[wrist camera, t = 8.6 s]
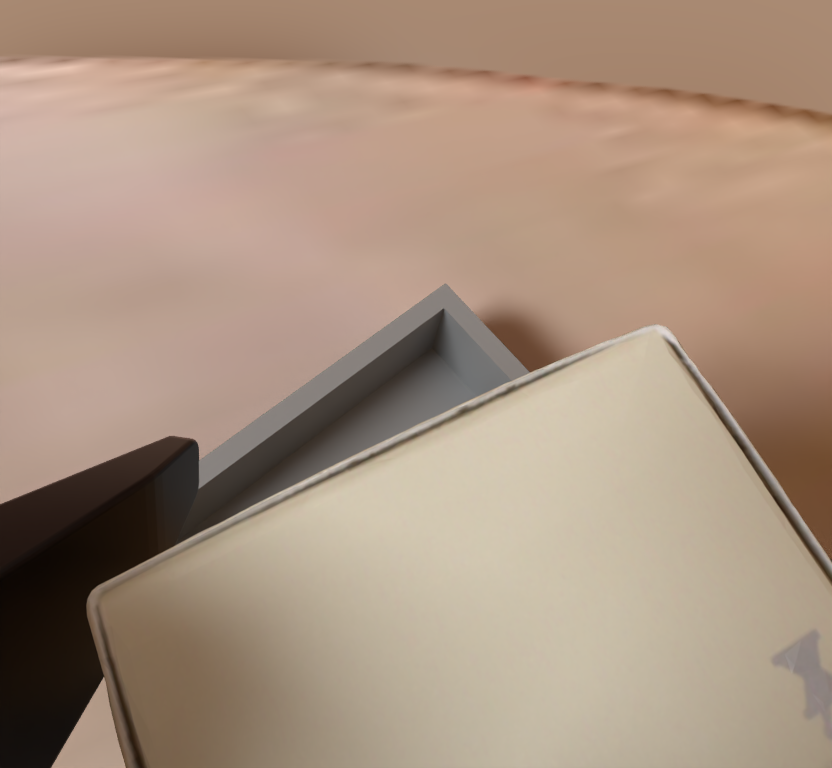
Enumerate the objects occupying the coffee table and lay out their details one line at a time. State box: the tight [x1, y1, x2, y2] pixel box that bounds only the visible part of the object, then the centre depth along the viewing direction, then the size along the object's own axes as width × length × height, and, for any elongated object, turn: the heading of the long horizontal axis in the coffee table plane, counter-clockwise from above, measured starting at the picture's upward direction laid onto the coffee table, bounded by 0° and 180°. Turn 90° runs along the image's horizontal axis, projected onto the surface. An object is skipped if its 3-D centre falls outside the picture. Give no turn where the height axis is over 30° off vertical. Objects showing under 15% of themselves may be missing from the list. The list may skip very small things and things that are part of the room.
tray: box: [175, 283, 530, 545], centre depth 15 cm, size 12×12×4 cm
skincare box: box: [86, 324, 832, 768], centre depth 10 cm, size 6×4×12 cm
